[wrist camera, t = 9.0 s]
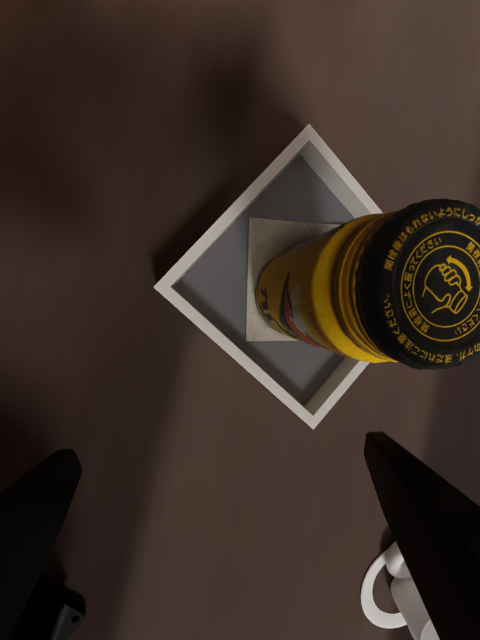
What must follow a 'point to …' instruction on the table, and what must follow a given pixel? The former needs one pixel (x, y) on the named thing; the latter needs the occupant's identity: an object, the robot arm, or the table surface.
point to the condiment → (371, 284)
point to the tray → (232, 273)
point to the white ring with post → (397, 597)
